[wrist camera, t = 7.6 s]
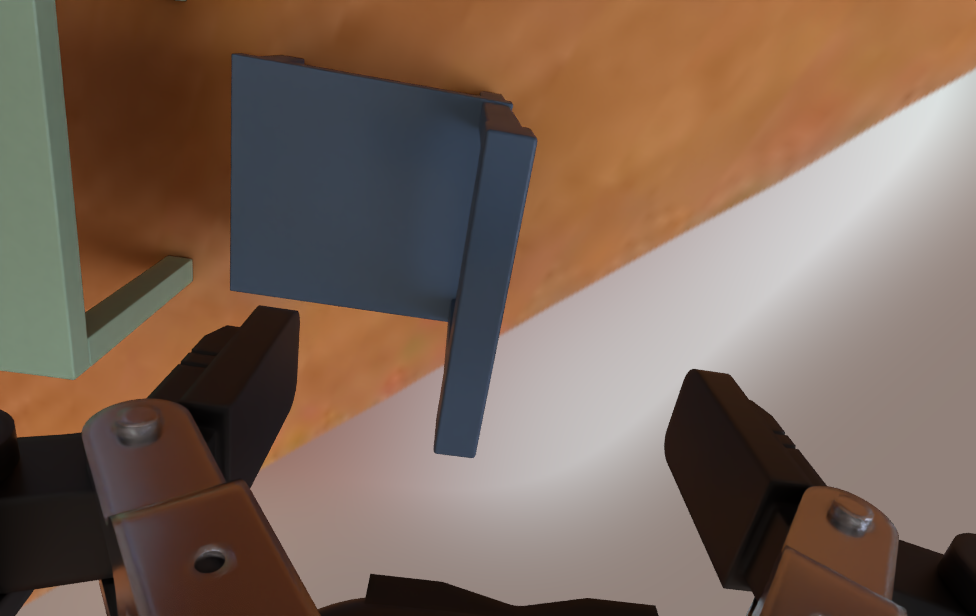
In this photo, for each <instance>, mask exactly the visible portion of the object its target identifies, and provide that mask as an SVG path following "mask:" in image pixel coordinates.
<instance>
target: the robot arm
mask: <svg viewBox="0 0 976 616" xmlns="http://www.w3.org/2000/svg"><path fill="white" fill-rule="evenodd" d="M299 329H300V317H299V313H298V311H295V310H288V309H281V308H274V307H267V306H260V305H259V306H258V307H257V308H256V309H255V310H254V311H253V312H252V314H251V315H250V316H249V317H248V318H247V320H246V321H245V322H244V323H243V324H242V326H241V327H235V326H228V325H227V326H225V327H222V328H220V329H218V330H216V331H214V332H212V333H210V334H208V335H205V336H204V337H203V338H202V339H201V340H200V341H199V343H198V344H197V345H196V346H195V347H194V348H193V349H192V352H191V353H188V354H187V355H186V356H185V358H184V359H183V360H182V361H181V364H178V365H177V366H176V367H175V368H174V369H173V370H172V372H171V373H170V374H169V375H168V376H167V377H166V378H165V379H164V380H163V381H162V382H161V383H160V384H159V386H158V387H157V388H156V389H155V390H154V391H153V392H152V393H151V394H150V395H149V396H148V397H147V398H146V399H136V400H129V401H125V402H121V403H118V404H115V405H112V406H109V407H107V408H105V409H103V410H101V411H99V412H97V413H96V414H95V415H93V416H92V417H91V418H90V419H89V420H88V421H87V422H86V423H85V425H84V427H83V429H82V432H81V433H74V434H63V435H48V436H34V437H19V438H17V435H16V429H15V424H14V420H13V418H12V417H11V416H10V415H9V414H8V413H6V412H4V411H2V410H0V616H15V615H16V614H17V613H18V611H19V610H20V609H21V607H22V606H23V604H24V603H25V602H26V600H27V599H28V598H29V596H30V595H31V593H32V592H33V590H34V589H40V588H47V587H53V586H60V585H67V584H74V583H80V582H87V581H93V580H99V585H100V589H101V593H102V597H103V601H104V605H105V609H106V614H107V616H658V613H657V609H656V606H654V605H645V604H636V603H627V602H617V601H609V600H600V599H591V598H585V599H576V600H568V601H560V602H552V603H544V604H537V605H528V606H514V605H510V604H507V603H503V602H501V601H498V600H495V599H491V598H489V597H486V596H483V595H480V594H477V593H474V592H471V591H468V590H465V589H462V588H459V587H456V586H453V585H450V584H447V583H444V582H439V581H429V580H421V579H412V578H403V577H394V576H385V575H375V574H370V578H369V584H368V588H367V594H366V598H360V599H352V600H348V601H344V602H339V603H335V604H331V605H329V606H326V607H323V608H320V609H317V608H316V606H315V604H314V602H313V600H312V599H311V597H310V595H309V593H308V592H307V590H306V588H305V586H304V584H303V583H302V581H301V579H300V577H299V575H298V574H297V572H296V570H295V568H294V567H293V565H292V563H291V561H290V559H289V558H288V556H287V554H286V552H285V550H284V549H283V547H282V545H281V543H280V541H279V540H278V538H277V536H276V534H275V533H274V531H273V529H272V527H271V525H270V524H269V522H268V520H267V518H266V516H265V515H264V513H263V511H262V509H261V507H260V506H259V504H258V502H257V500H256V499H255V497H254V495H253V493H252V491H251V490H250V488H251V486H252V484H253V482H254V480H255V478H256V476H257V474H258V472H259V470H260V468H261V466H262V464H263V462H264V460H265V458H266V456H267V454H268V453H269V451H270V449H271V447H272V445H273V443H274V441H275V439H276V437H277V435H278V433H279V431H280V429H281V427H282V425H283V423H284V421H285V419H286V417H287V415H288V413H289V411H290V409H291V406H292V403H293V400H294V396H295V391H296V384H297V369H298V349H299ZM664 450H665V457H666V461H667V463H668V466H669V468H670V470H671V472H672V475H673V477H674V479H675V481H676V483H677V485H678V488H679V490H680V493H681V495H682V497H683V499H684V501H685V504H686V506H687V508H688V510H689V512H690V515H691V517H692V519H693V522H694V524H695V526H696V528H697V531H698V533H699V535H700V537H701V539H702V542H703V544H704V546H705V548H706V551H707V553H708V555H709V557H710V560H711V562H712V564H713V566H714V569H715V571H716V573H717V575H718V577H719V580H720V582H721V584H722V586H723V588H726V589H735V590H743V591H752V592H753V594H754V596H755V598H754V600H753V602H752V604H751V606H750V608H749V610H748V613H747V615H746V616H976V534H972V533H963V534H959V535H957V536H956V537H955V538H954V539H953V541H952V543H951V544H950V546H949V547H948V549H947V551H946V552H945V554H944V555H943V554H940V553H937V552H934V551H931V550H928V549H925V548H922V547H919V546H916V545H914V544H911V543H907V542H905V541H902V540H899V535H898V532H897V530H896V528H895V526H894V524H893V523H892V522H891V521H890V520H889V518H888V517H887V516H886V515H884V514H883V513H882V512H881V511H880V510H878V509H877V508H876V507H875V506H873V505H872V504H870V503H869V502H867V501H865V500H864V499H862V498H860V497H858V496H856V495H854V494H852V493H849V492H847V491H844V490H841V489H838V488H834V487H828V486H827V485H826V484H825V483H824V482H823V480H822V479H821V478H820V476H819V475H818V474H817V473H816V471H815V470H814V469H813V467H812V466H811V465H810V464H809V462H808V461H807V460H806V459H805V457H804V456H803V455H802V453H801V452H800V451H799V450H798V449H795V445H794V443H793V442H792V441H791V439H790V438H789V437H788V436H787V435H785V432H784V430H783V429H782V428H781V427H780V425H779V424H778V423H777V421H776V420H775V419H774V418H773V416H771V415H770V414H769V413H768V412H766V411H765V410H764V409H762V408H761V407H760V406H758V405H757V404H755V403H754V402H753V401H751V400H749V399H748V398H747V396H746V395H745V394H744V392H743V391H742V390H741V388H740V387H739V386H738V384H737V383H736V382H735V380H734V379H733V378H732V377H731V375H729V374H725V373H718V372H711V371H704V370H698V369H692V370H690V371H689V372H688V374H687V375H686V377H685V379H684V381H683V384H682V387H681V390H680V393H679V396H678V399H677V402H676V405H675V407H674V410H673V413H672V416H671V419H670V422H669V425H668V428H667V431H666V435H665V443H664Z"/></svg>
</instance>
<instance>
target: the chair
mask: <svg viewBox="0 0 976 616" xmlns="http://www.w3.org/2000/svg"><path fill="white" fill-rule="evenodd" d="M512 108H513V104H512V102H511V101H506V100H505V99H504V98H503V96H502V95H501V94H496V93H490V92H485V91H481V92H480V96H478V95H472V94H467V93H461V92H455V91H450V90H444V89H439V88H433V87H427V86H422V85H416V84H411V83H405V82H400V81H394V80H388V79H383V78H377V77H372V76H366V75H360V74H355V73H349V72H344V71H338V70H333V69H327V68H321V67H316V66H310V65H305V64H304V59H301V58H296V57H290V56H284V55H276V56H254V55H249V54H243V53H235V54H232V77H231V238H230V290H231V291H237V292H244V293H251V294H258V295H265V296H272V297H279V298H286V299H293V300H300V301H307V302H314V303H321V304H327V305H334V306H341V307H348V308H355V309H362V310H369V311H376V312H383V313H390V314H397V315H404V316H411V317H418V318H424V319H431V320H438V321H445V322H448V328H447V340H446V352H445V364H444V375H443V381H442V387H441V394H440V400H439V406H438V412H437V418H436V429H435V440H434V452H435V453H436V454H443V455H451V456H459V457H468V458H474V457H475V455H476V450H477V445H478V440H479V435H480V429H481V424H482V419H483V414H484V409H485V404H486V399H487V394H488V389H489V384H490V379H491V374H492V369H493V364H494V359H495V354H496V349H497V343H498V338H499V333H500V328H501V323H502V318H503V313H504V308H505V303H506V298H507V293H508V288H509V283H510V278H511V273H512V268H513V263H514V258H515V252H516V247H517V242H518V237H519V232H520V227H521V222H522V217H523V212H524V207H525V202H526V197H527V192H528V187H529V182H530V177H531V171H532V166H533V161H534V156H535V151H536V146H537V138H536V136H535V135H534V134H533V132H532V131H531V129H529V128H526V127H522V126H521V125H520V123H519V121H518V120H517V118H516V117H515V115H514V114H513V112H512Z"/></svg>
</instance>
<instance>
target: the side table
mask: <svg viewBox="0 0 976 616" xmlns="http://www.w3.org/2000/svg"><path fill="white" fill-rule="evenodd" d="M177 1H183V2H186V1H187V0H177ZM192 281H193V268H192V259H188V258H181V257H174V256H167V257H165V258H164V259H162V260H161V261H159V262H158V263H157V264H155V265H154V266H152V267H151V268H149V269H148V270H146V271H145V272H144V273H142V274H141V275H139V276H138V277H136V278H135V279H133V280H132V281H130V282H129V283H128V284H126V285H125V286H123V287H122V288H120V289H119V290H117V291H116V292H114V293H113V294H112V295H110V296H109V297H107V298H106V299H104V300H103V301H101V302H100V303H99V304H97V305H96V306H94V307H93V308H91V309H90V310H88V311H87V312H85V309H84V298H83V288H82V277H81V267H80V256H79V246H78V235H77V225H76V214H75V204H74V194H73V183H72V173H71V162H70V152H69V141H68V131H67V120H66V110H65V99H64V89H63V78H62V68H61V57H60V47H59V36H58V26H57V15H56V5H55V0H0V370H1V371H9V372H17V373H24V374H32V375H40V376H48V377H55V378H63V379H71V380H75V379H76V378H77V377H79V376H80V375H81V374H82V373H83V372H85V371H86V370H87V369H88V368H89V367H90V366H92V365H93V364H94V363H96V362H97V361H98V360H99V359H100V358H102V357H103V356H104V355H105V354H106V353H108V352H109V351H110V350H111V349H112V348H113V347H115V346H116V345H117V344H118V343H119V342H121V341H122V340H123V339H124V338H125V337H127V336H128V335H129V334H130V333H131V332H133V331H134V330H135V329H136V328H137V327H138V326H140V325H141V324H142V323H143V322H144V321H146V320H147V319H148V318H149V317H150V316H152V315H153V314H154V313H155V312H156V311H157V310H159V309H160V308H161V307H162V306H163V305H165V304H166V303H167V302H168V301H169V300H171V299H172V298H173V297H174V296H175V295H177V294H178V293H179V292H180V291H181V290H182V289H184V288H185V287H186V286H187V285H188V284H190V283H191V282H192Z"/></svg>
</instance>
